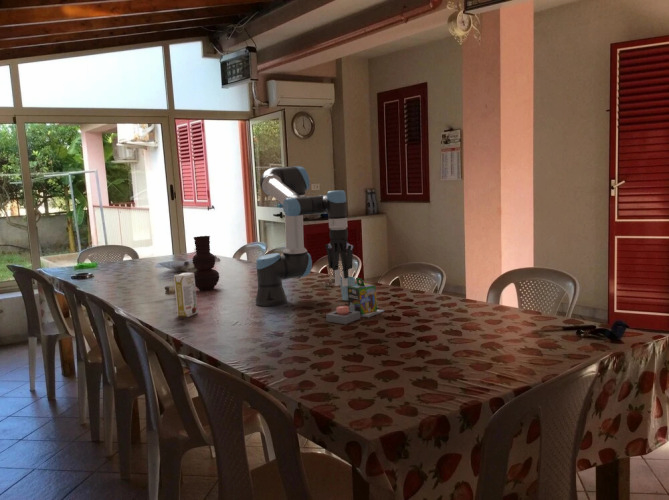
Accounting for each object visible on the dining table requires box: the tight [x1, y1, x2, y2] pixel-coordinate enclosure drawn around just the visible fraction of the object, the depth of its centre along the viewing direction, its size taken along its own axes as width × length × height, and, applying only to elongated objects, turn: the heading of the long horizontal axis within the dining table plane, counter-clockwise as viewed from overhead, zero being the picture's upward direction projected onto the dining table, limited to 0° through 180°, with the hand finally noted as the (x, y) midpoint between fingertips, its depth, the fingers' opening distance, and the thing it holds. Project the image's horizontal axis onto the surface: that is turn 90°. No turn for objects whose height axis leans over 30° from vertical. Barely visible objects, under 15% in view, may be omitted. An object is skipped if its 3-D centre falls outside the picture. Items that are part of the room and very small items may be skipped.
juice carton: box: [173, 272, 198, 318], centre depth 261 cm, size 8×9×19 cm
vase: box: [191, 235, 220, 292], centre depth 317 cm, size 15×15×30 cm
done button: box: [336, 305, 349, 315], centre depth 236 cm, size 5×5×3 cm
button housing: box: [325, 310, 361, 325], centre depth 237 cm, size 10×10×3 cm
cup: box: [339, 276, 356, 302], centre depth 275 cm, size 8×8×10 cm
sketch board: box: [360, 308, 385, 318], centre depth 248 cm, size 14×12×1 cm
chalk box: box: [347, 277, 378, 315], centre depth 247 cm, size 9×9×15 cm
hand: (341, 285), depth 235 cm, fingers open, 3 cm apart
